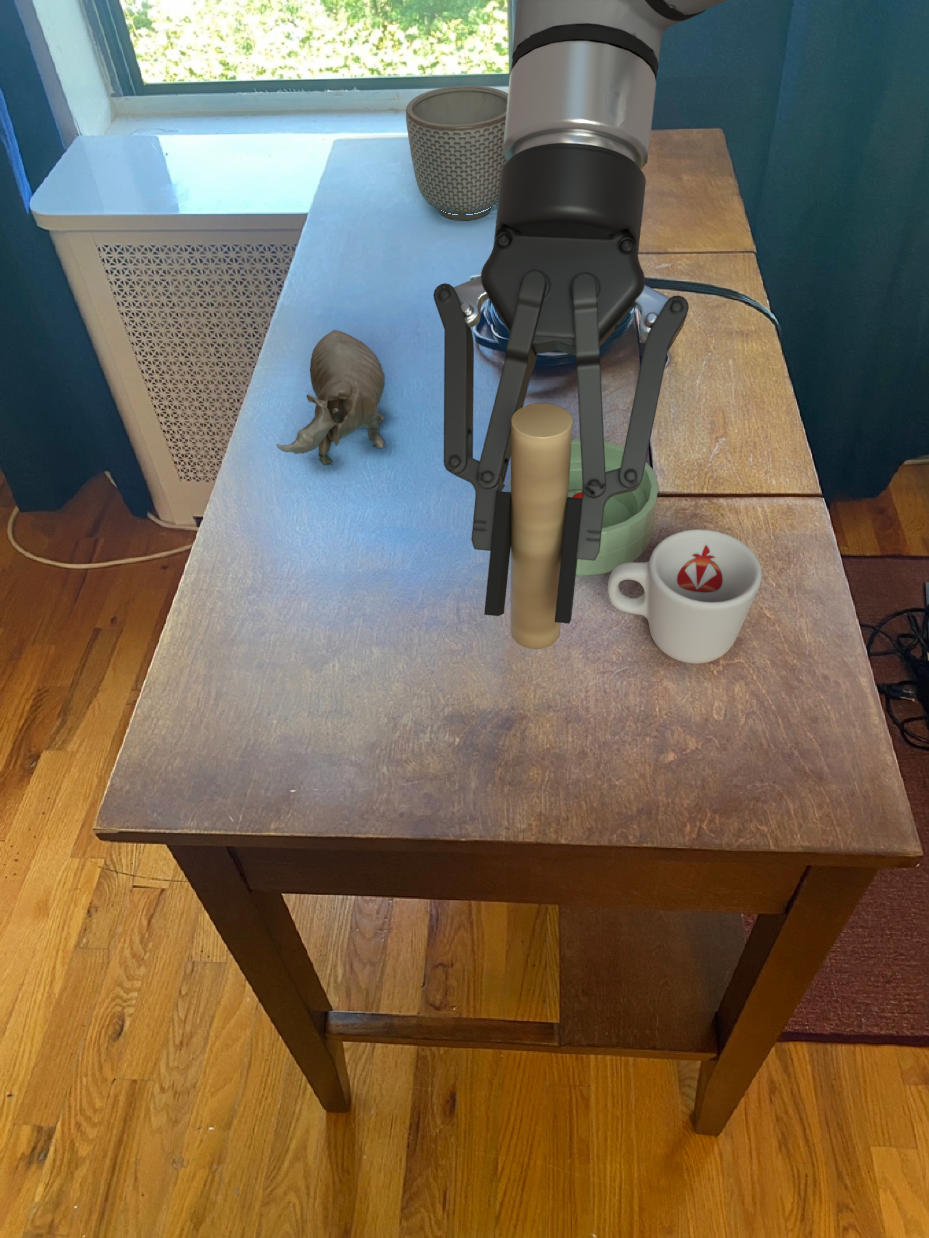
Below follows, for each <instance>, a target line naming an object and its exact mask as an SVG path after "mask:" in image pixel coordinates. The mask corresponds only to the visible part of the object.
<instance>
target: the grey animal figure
mask: <svg viewBox="0 0 929 1238" xmlns="http://www.w3.org/2000/svg"><path fill="white" fill-rule="evenodd" d="M309 374H310V375H309V376H310V378H309V379H310V383H311V388H312V391H313V392H314V394H315V396H314V395H312V394H309V393H307V394H306V399H307V401H308V402H309V403H313V404H315V407H314V408H315V409H314V417H313V419H311V421H310V422H309V423H308V424H306V426H304V427H302V428H301V429H299V430H298V431H297V434H296V437H295V440H294V441H292V442H291V443H290V444H284V445H283V444H279V443H276V448H278V449H279V450H280V451H282V452H283V453H293V454H295V455H298V454H302V455H303V454H306V453H309V452H312V451H314V450H316V449H317V448H318V457H319V458H317V460H318V461H319V462H320V463H321V464H322V465H323V466H329V465H330V466H333V463H334V461H333V460H332V459H331V458H330V457H329V456H328V454H329V452H330V449H331V445H332V443H333V444H334V445H335V446H336V447H337V446H339V443H340V440H341V439H344V438H346V437H347V436H349V435H350V434H352V433H354V432H355V431H356V430H359V429H363V428H364V429H367V434H368V440H369V441H371V442H374V444H372V445H371V447H372V448H375V449H376V448H377V449H379V448H380V449H385V448H386V443H385V441H384V439H383V438H382V436H381V434H380V433H379V432H380V427H379V426H380V423H382V421H383V420H384V419H385V417H384V416H383V415H382V414H381V413H380V411H379V408H378V406H379V404H380V402H381V399H382V396H383V393H384V390H385V385H386V380H385V378H386V377H385V372H384V370H383V368H382V364H381V363H380V360H379V358H378V356H377V355H376V354H375V352H374V351H373V350H372V349H371V348H370V347H369V346H368V345H366V344H365V343H364V342H363V341H361V340H359V339H358V338H356V337H354V336H352V335H350V334H349V333H346V332H345V331H341V330H336V329H334V330H331V331H330V332H328V333H327V334H325V335H324V336H323V337H322V338H321V339H320V340H319V341H318V342H317V343H316V345H315V346H314V348H313V349H312V353H311V356H310V365H309Z"/></svg>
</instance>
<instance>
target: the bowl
mask: <svg viewBox="0 0 929 1238" xmlns="http://www.w3.org/2000/svg"><path fill="white" fill-rule="evenodd" d="M624 447H625V446H624V445H620V444H617V443H614V442H611V441H608V440H604V452H605V472H607V471H611V470H614V469H618V468H620V467H621V462H622V457H623V452H624ZM659 487H660V484H659V483H658V479H657V476H656V473H655V470H654V469H653V468H652V467H651V466H650V464H649V462H647V461H646V463H645V468H644V474H643V478H642V481H641V484H640V486H639V487H638V488H637V489H636V490H634V491H632V492H626V493H622V494H618V495H615V496H613V497H611V498H610V499H609V500H608V501H607V502H606V504H605V507H604V515H603V525H602V534H601V544H600V552H599V554H598V556H597V558H596V560H595V561H592V560H581V559H577V568H576V576H579V577H580V576H594V575H603V574H607V573H610V572H612V571H613V570H614V568H616V567H617V566H618V565H620V564H624V563H629V562H635V560H637V559H638V558H640V557H641V556H642V554H643V553H644V552H645V550H646V549H647V547H648V546H649V545H650V543H651V539H652V533H653V528H654V521H655V515H656V507H657V501H658V494H659ZM582 490H583V487H582V465H581V445H580V438H572V443H571V460H570V477H569V494H568V497H573V496H574V495H575V494H577V493H579V492H582ZM509 492H511V479H510V481H509Z"/></svg>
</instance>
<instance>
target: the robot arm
mask: <svg viewBox="0 0 929 1238" xmlns="http://www.w3.org/2000/svg"><path fill="white" fill-rule="evenodd" d="M727 1H728V0H516V7H515V19H514V31H513V42H512V43H513V44H512V54H511V55H512V56H511V59H512V62H511V68H510V69H511V70H510V75H509V80H508V90H507V93H508V100H507V110H506V121H505V132H504V142H503V154H504V156H505V158H506V160H507V161H508V162H507V163H505V165H504V166H503V168H502V170H501V176H500V186H499V197H498V203H497V207H496V218H495V219H496V220H495V229H494V238H493V239H494V240H493V247H492V250H491V252H490V255H489V256H488V258H487V260H486V261H485V262H484V264H483V266H482V268H481V271H480V276H477V277H475V278H473V279H470V280H468V281H465V282H463V283H461V284H457V285H456V286H453V285H451V284H450V283H446V282H444V283H440V284H439V285H437V286H436V287H435V289H434V291H433V301H434V304H435V306H436V309H437V312H438V315H439V318H440V320H441V324H442V326H443V329H444V335H443V336H444V343H443V344H444V345H443V346H444V348H443V349H444V353H443V355H444V356H443V357H444V361H443V365H444V366H443V466H444V468H445V470H446V471H447V472H449V473H450V474H452V475H453V476H455V477H457V478H459V479H462V480H463V481H466V482H468V483H470V485H472V487H473V489H474V492H475V493H474V494H475V499H474V508H473V517H472V519H473V520H472V529H471V538H470V539H471V544H472V546H473V550H477V551H487V552H488V551H489V560H488V572H487V581H486V582H487V583H486V592H485V602H484V613H483V615H484V616H492V617H500V616H502V615H504V614H505V608H506V600H507V599H506V598H507V589H508V588H507V587H508V577H509V568H510V560H511V492H510V491H503V490H504V488H505V487H506V484H505V480H506V478H507V477H506V476H507V472H508V469H509V464H510V462H511V418H512V416H513V414H514V413H515V412H516V411H517V410H518V409H520V408H522V407H524V406H525V401H526V397H527V392H528V389H529V385H530V381H531V376H532V373H533V371H534V369H535V366H536V362H537V358H538V354H545V353H549V352H554V351H559V352H562V353H564V354H567V355H570V356H575V361H576V362H575V363H576V379H577V380H576V381H577V400H578V401H577V402H578V420H579V439H580V445H581V465H582V487H583V490H582V498H575V497H567V506H566V515H565V525H564V535H563V545H562V554H561V564H560V574H559V584H558V593H557V603H556V613H555V622H558V623H561V624H570V623H571V621H572V616H573V607H574V605H573V604H574V597H575V589H576V587H575V586H576V578H577V575H576V568H577V559H581V560H592V561H595V560H596V558H597V556H598V554H599V552H600V544H601V534H602V525H603V515H604V507H605V504H606V502H607V501H608V500H609V499H610V498H611V497H613V496H615V495H618V494H622V493H626V492H632V491H634V490H636V489H637V488H638V487H639V486H640V484H641V481H642V478H643V474H644V468H645V463H646V462H647V459H648V458H647V457H648V453H649V448H650V444H651V438H652V433H653V427H654V423H655V417H656V412H657V407H658V403H659V397H660V393H661V387H662V382H663V378H664V374H665V373H664V372H665V368H666V362H667V357H668V352H669V350H670V349H671V347H672V346H673V344H674V342H675V341H676V339H677V337H678V335H679V334H680V332H681V330H682V329H683V327H684V325H685V322H686V319H687V316H688V313H689V309H690V305H689V302H688V299H686V298H685V297H684V296H681V295H673V296H671V297H669V296H667V295H665V294H664V293H661V292H660V291H658V290H656V289H654V288H653V287H650V286H649V285H647V284H646V277H645V272H644V270H643V268H642V265H641V262H640V259H639V250H640V241H641V240H640V239H641V230H642V222H643V213H644V203H645V193H646V185H647V180H646V176H645V173H644V172H643V171H642V169H643V168H645V166H646V165H647V164H648V161H649V152H650V142H651V133H652V127H653V126H652V125H653V116H654V108H655V100H656V91H657V79H658V70H659V64H660V63H659V62H660V54H661V46H662V39H663V34H664V32H665V31H667V29H668V28H670V27H672V26H675V25H678V24H679V23H680V22H684V21H687V20H690V19H692V18H695V17H696V16H699V15H700V14H702V13H704V12H706V11H707V10H709V9H710V8H712V7H716V6H717V5H720V4H722V3H724V2H727ZM487 300H489V301H490V303H491V305H492V306H493V308H494V310H495V311H496V314H497V315H498V317H499V318H500V321H501V323H503V325H504V327H505V329H506V330H507V332H508V334H509V335H508V339H507V343H506V348H505V357H504V363H503V366H502V370H501V374H500V377H499V378H500V379H499V382H498V385H497V390H496V395H495V397H494V398H495V399H494V402H493V405H492V410H491V414H490V418H489V422H488V427H487V430H486V435H485V439H484V441H483V447H482V450H481V455H480V458H479V460H478V459H476V458H474V391H475V390H474V388H475V387H474V382H475V381H474V380H475V379H474V378H475V377H474V376H475V372H474V371H475V345H474V344H475V343H474V342H475V341H474V335H473V330H472V328H474V327H476V326H477V325H478V324H479V323H480V321H481V319H482V306H483V304H484V303H485V302H486V301H487ZM634 308H636V309H637V310H638V312H639V313H640V318H639V321H638V322H639V324H638V329H639V332H640V334H641V335H642V336H643V337H645V338H646V339H645V343H644V347H643V350H642V357H641V360H640V367H639V371H638V376H637V382H636V386H635V392H634V397H633V401H632V407H631V412H630V417H629V422H628V427H627V432H626V437H625V442H624V446H623V447H624V452H623V457H622V462H621V467H620V468H618V469H614V470H611V471H607V472H605V452H604V441H605V433H604V413H603V412H604V411H603V391H602V390H603V389H602V369H601V346H602V345H603V344H604V343H605V342H606V341H607V339H609V337H610V336H611V335H612V334H613V333H614V332H615V330H616V329H617V328H618V327H619V326H620V325H621V324H622V322H623V321H624V320H625V319H626V318H627V317H628V316H629V314H630V313H631V311H633V309H634Z"/></svg>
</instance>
